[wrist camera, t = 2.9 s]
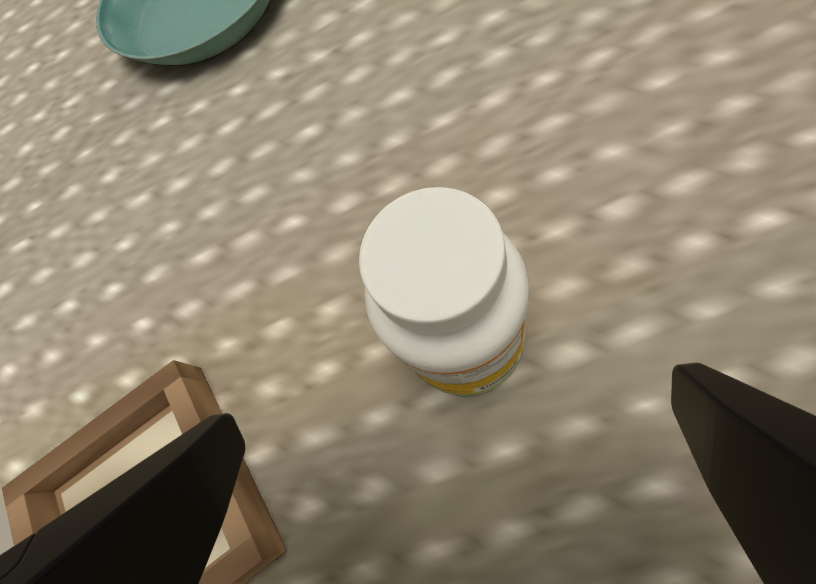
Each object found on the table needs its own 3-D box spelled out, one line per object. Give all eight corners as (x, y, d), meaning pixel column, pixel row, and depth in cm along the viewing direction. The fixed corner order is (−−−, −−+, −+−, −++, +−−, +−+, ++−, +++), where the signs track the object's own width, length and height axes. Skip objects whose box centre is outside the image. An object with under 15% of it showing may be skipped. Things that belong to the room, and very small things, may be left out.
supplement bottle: (421, 277, 22) (360, 158, 13) (532, 293, 21) (546, 169, 12) (397, 384, 21) (308, 330, 12) (514, 409, 19) (516, 367, 10)
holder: (286, 550, 19) (262, 560, 17) (96, 696, 19) (51, 722, 17) (200, 367, 23) (173, 360, 21) (43, 485, 23) (1, 487, 21)
